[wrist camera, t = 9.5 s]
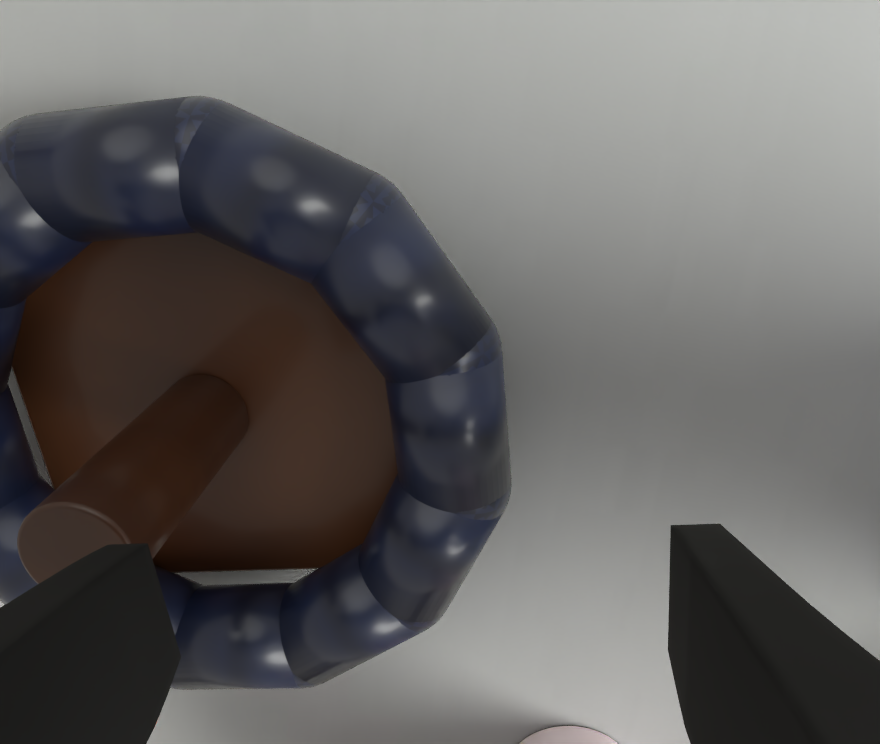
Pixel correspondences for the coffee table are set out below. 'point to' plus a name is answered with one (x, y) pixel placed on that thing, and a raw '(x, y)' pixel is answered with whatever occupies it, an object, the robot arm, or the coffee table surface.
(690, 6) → the coffee table surface
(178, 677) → the dark blue ring
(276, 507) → the wooden ring toss peg
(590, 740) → the smoothie
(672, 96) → the coffee table surface
